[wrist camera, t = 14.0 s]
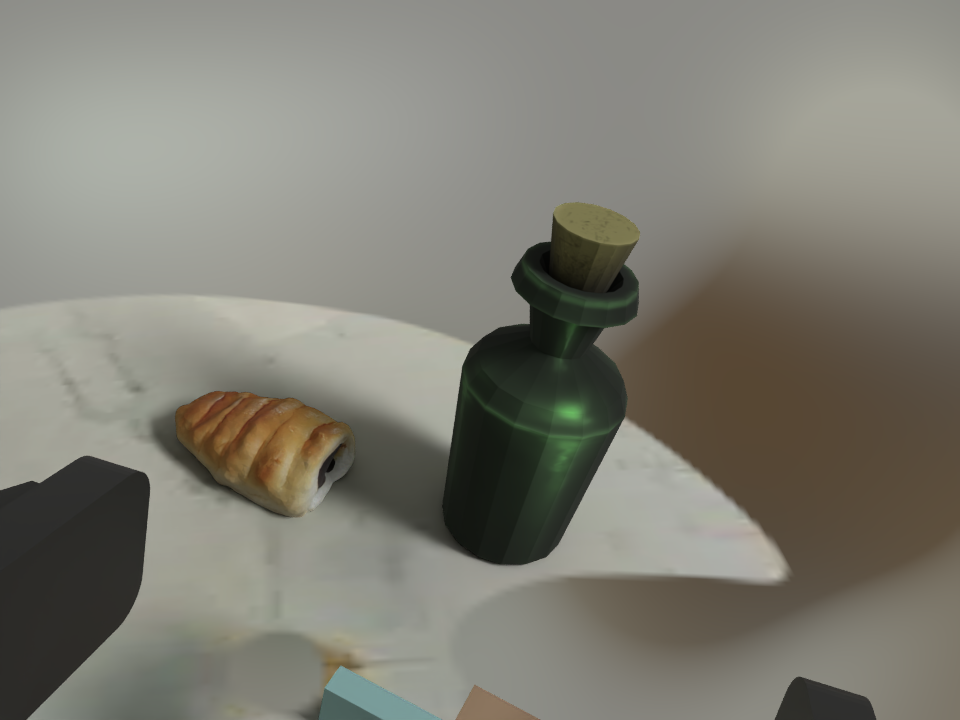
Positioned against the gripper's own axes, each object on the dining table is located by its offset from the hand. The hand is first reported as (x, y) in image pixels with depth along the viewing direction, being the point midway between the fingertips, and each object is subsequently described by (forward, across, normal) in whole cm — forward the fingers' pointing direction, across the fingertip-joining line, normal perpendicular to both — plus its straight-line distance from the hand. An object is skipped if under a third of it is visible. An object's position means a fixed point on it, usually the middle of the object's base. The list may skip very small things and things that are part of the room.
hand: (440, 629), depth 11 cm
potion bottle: (+33, +2, +18) cm, 37 cm away
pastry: (+31, +14, +17) cm, 38 cm away
